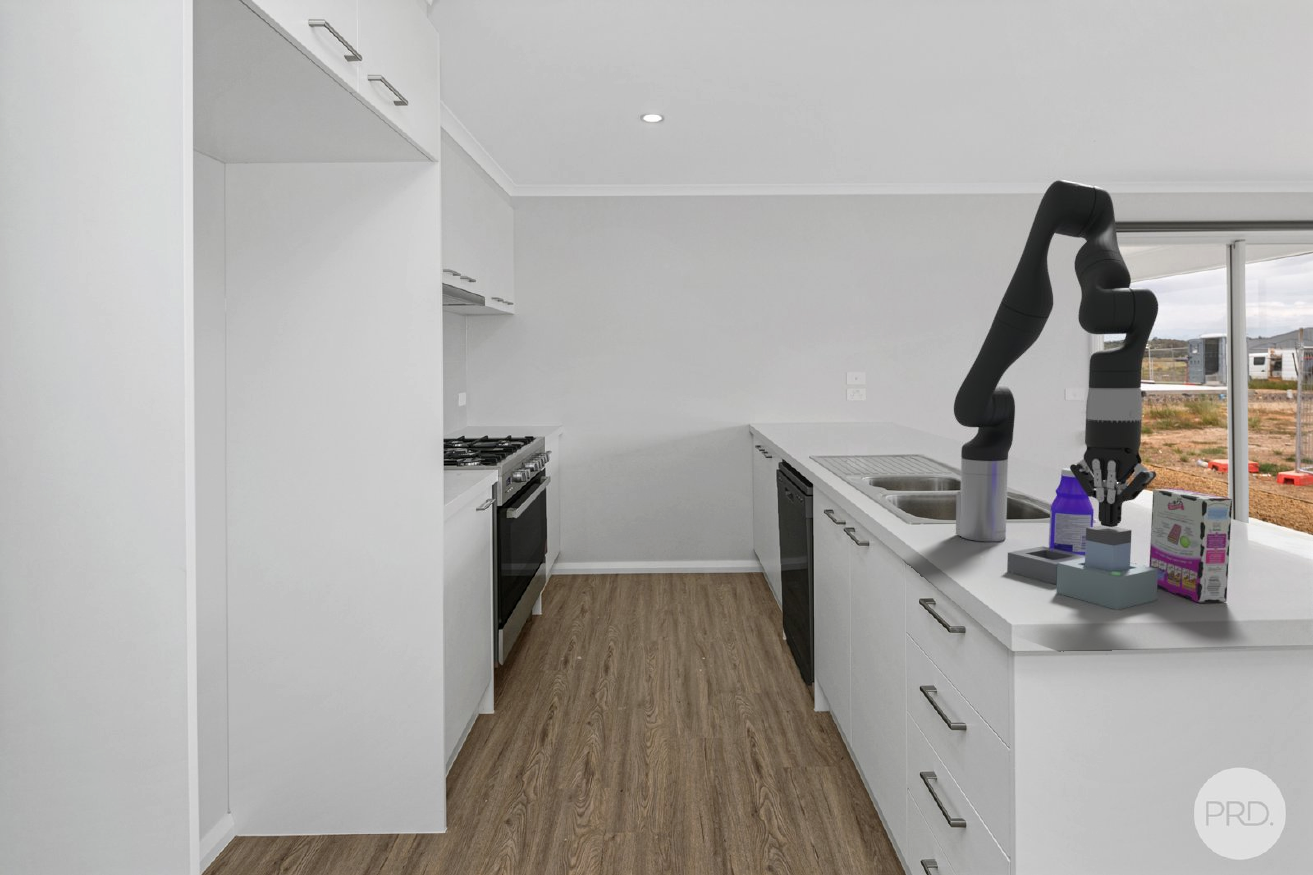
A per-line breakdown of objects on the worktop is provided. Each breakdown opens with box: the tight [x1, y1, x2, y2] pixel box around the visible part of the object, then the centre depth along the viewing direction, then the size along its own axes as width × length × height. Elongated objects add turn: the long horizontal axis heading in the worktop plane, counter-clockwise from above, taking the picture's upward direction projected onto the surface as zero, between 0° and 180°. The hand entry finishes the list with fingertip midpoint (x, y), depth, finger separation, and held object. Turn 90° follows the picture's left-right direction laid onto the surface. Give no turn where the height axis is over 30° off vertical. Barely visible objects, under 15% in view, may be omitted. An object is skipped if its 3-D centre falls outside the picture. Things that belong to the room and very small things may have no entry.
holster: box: [1006, 545, 1085, 585], centre depth 135 cm, size 10×10×4 cm
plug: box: [1085, 524, 1132, 572], centre depth 121 cm, size 4×4×10 cm
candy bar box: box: [1148, 488, 1233, 604], centre depth 122 cm, size 11×5×16 cm, turn 5°
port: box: [1056, 558, 1158, 611], centre depth 121 cm, size 10×10×5 cm
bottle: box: [1048, 467, 1095, 556], centre depth 145 cm, size 7×6×17 cm
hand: (1109, 525), depth 121 cm, fingers closed
